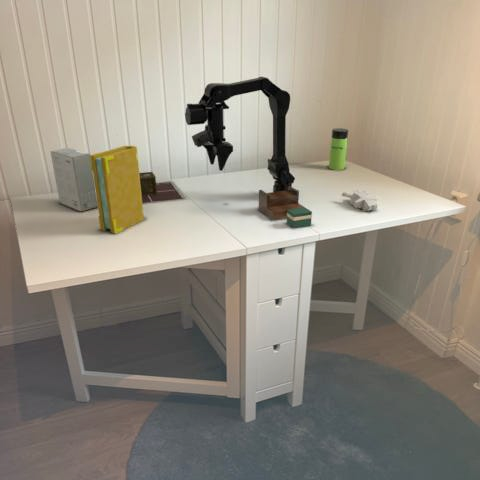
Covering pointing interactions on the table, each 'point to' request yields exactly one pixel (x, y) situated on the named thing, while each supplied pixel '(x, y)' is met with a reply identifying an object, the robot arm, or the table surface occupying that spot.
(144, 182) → the wooden crate
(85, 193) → the hard drive box
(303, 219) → the tea packet
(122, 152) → the book
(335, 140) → the tumbler
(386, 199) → the table surface
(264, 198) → the step shelf
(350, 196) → the bunny figurine
